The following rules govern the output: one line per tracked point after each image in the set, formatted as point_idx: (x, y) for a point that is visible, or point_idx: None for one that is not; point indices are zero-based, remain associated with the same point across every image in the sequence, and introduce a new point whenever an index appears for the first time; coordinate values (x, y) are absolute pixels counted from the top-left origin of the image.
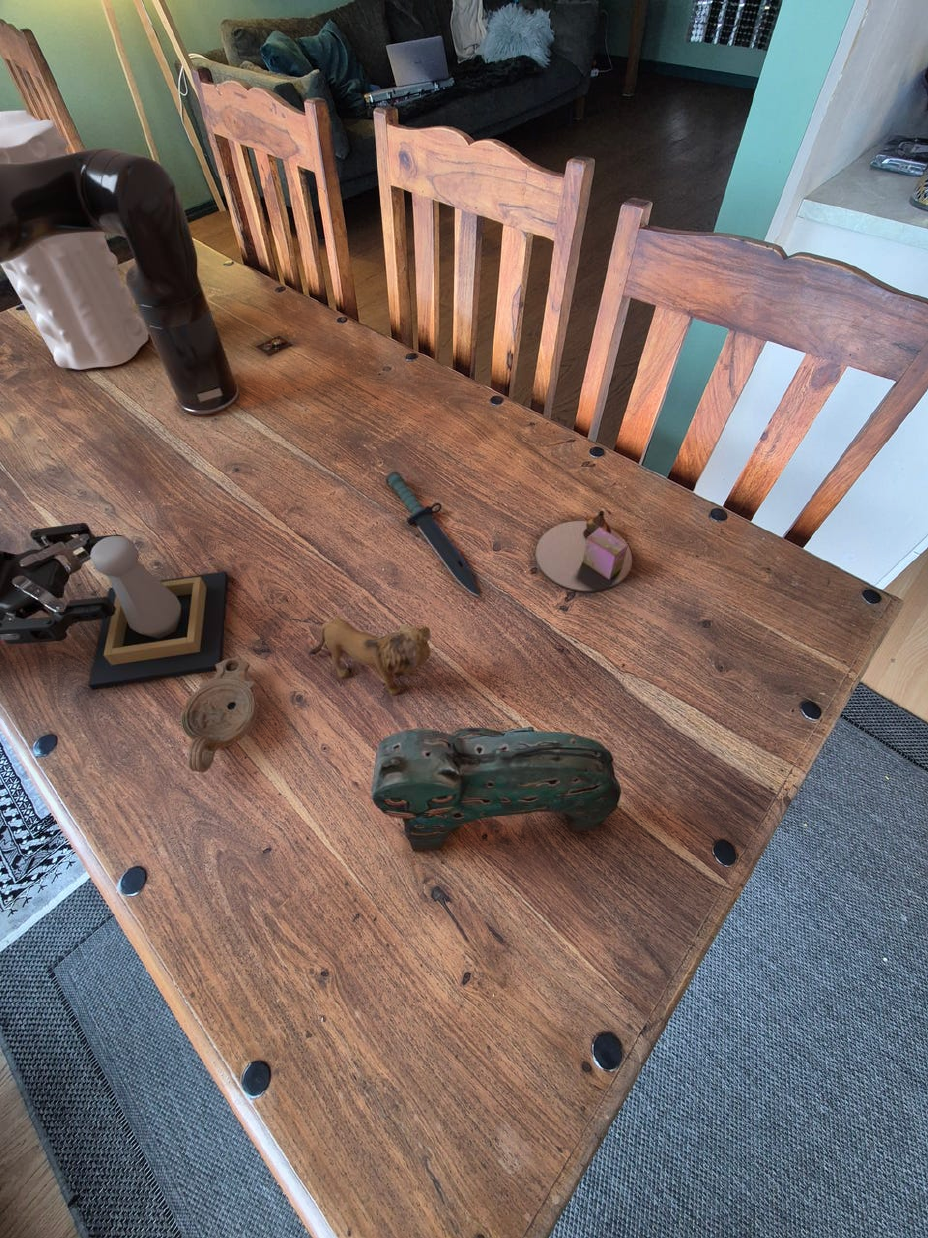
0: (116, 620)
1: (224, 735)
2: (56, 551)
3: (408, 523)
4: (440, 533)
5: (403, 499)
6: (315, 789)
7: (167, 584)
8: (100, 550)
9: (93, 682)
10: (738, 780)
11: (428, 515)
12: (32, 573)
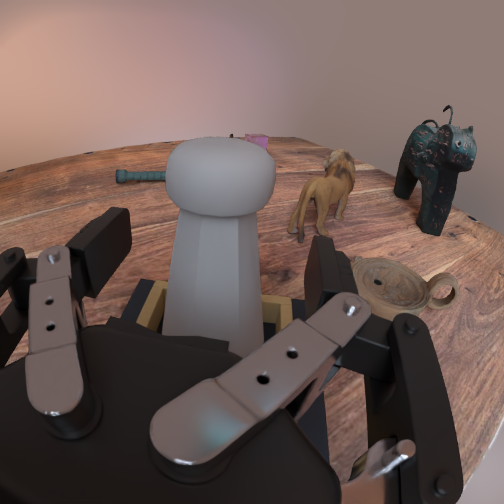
0: None
1: (417, 279)
2: (68, 294)
3: None
4: None
5: (146, 175)
6: (422, 263)
7: (146, 317)
8: (230, 147)
9: None
10: (374, 170)
11: None
12: (118, 405)
